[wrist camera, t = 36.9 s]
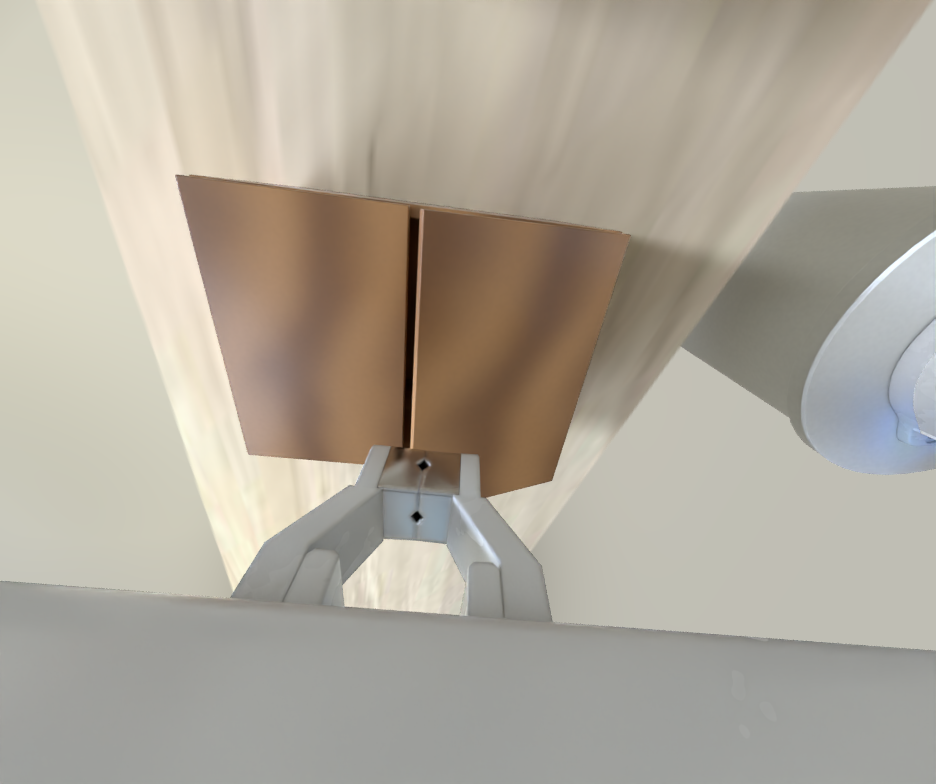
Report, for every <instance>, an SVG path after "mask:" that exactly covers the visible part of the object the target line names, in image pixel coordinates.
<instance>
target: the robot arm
mask: <svg viewBox="0 0 936 784" xmlns="http://www.w3.org/2000/svg"><path fill="white" fill-rule="evenodd" d="M888 397H889V402H890V405H891V407H892V409H893V410H894V412H895V413H896V415H897V417H898V420H899V421H898V426H897V439H898V440H899V441H901V442H904V443H906V444H908V445H911V446H931V445H936V319H934V320H933V321H932V322H931V323H930V324H929V325H928V326H927V327H926V328H925V329H924V330H923V331H922V332H921V333H920V334H919V335H918V336H917V337H916V338H915V339H914V341H913V342H912V343H911V344H910V345H909V347H908V348H907V349H906V351H905V352H904V354H903V355H902V357H901V358H900V360H899V361H898V363H897V365H896V367H895V369H894V371H893V374H892V376H891V379H890V383H889V390H888ZM383 539H400V540H416V541H425V542H434V543H443V544H447V547H448V549H449V551H450V553H451V555H452V557H453V559H454V561H455V563H456V565H457V567H458V569H459V571H460V573H461V575H462V577H463V579H464V581H465V583H466V584H465V589H464V594H463V599H462V604H461V610H460V615H450V614H436V613H423V612H409V611H396V610H383V609H369V608H356V607H345V606H344V597H343V588H342V585H343V584H344V583H345V582H346V580H347V579H348V578H349V577H350V576H351V575H352V574H353V573H354V572H355V571H356V570H357V569H358V567H359V566H360V565H361V564H362V563H363V562H364V561H365V560H366V559H367V558H368V557H369V556H370V554H371V553H372V552H373V551H374V550H375V549H376V548H377V547H378V546H379V545H380V544H381V543H382V541H383ZM0 784H936V651H933V650H920V649H906V648H893V647H880V646H866V645H851V644H839V643H838V644H837V643H825V642H812V641H798V640H784V639H772V638H758V637H744V636H732V635H718V634H705V633H691V632H678V631H665V630H652V629H638V628H625V627H612V626H598V625H585V624H571V623H557V622H553V621H552V616H551V611H550V607H549V601H548V595H547V590H546V585H545V580H544V575H543V570H542V566H541V564H540V563H539V562H538V561H537V559H536V558H535V557H534V556H533V555H532V553H531V552H530V551H529V550H528V548H527V547H526V546H525V545H524V544H523V542H522V541H521V540H520V539H519V538H518V536H517V535H516V534H515V533H514V531H513V530H512V529H511V528H510V527H509V525H508V524H507V523H506V522H505V520H504V519H503V518H502V517H501V516H500V514H499V513H498V512H497V511H496V509H495V508H494V507H493V506H492V505H491V503H490V502H489V501H488V500H487V498H483V497H481V493H480V462H479V455H478V454H464V453H461V454H459V453H448V452H437V451H427V450H419V449H411V448H402V447H394V446H392V447H391V446H383V445H375V444H374V445H373V446H372V447H371V449H370V451H369V454H368V456H367V458H366V461H365V463H364V465H363V468H362V470H361V473H360V475H359V477H358V480H357V482H356V484H355V486H352V485H349V486H348V487H346V488H345V489H343V490H342V491H340V492H339V493H337V494H336V495H334V496H333V497H331V498H330V499H328V500H327V501H325V502H324V503H322V504H321V505H319V506H318V507H316V508H315V509H313V510H312V511H310V512H309V513H307V514H306V515H304V516H303V517H301V518H300V519H298V520H297V521H295V522H294V523H293V524H291V525H290V526H288V527H287V528H285V529H284V530H282V531H281V532H279V533H278V534H276V535H275V536H273V537H272V538H270V539H269V540H267V541H266V542H265V543H264V544H263V546H262V547H261V549H260V551H259V552H258V554H257V555H256V557H255V559H254V560H253V562H252V563H251V565H250V567H249V568H248V570H247V571H246V573H245V575H244V576H243V578H242V579H241V581H240V583H239V584H238V586H237V587H236V589H235V591H234V592H233V594H232V596H231V597H230V598H223V597H209V596H196V595H183V594H168V593H156V592H143V591H129V590H115V589H103V588H88V587H76V586H63V585H49V584H35V583H23V582H10V581H0Z"/></svg>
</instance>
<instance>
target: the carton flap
mask: <svg viewBox="0 0 936 784" xmlns="http://www.w3.org/2000/svg"><path fill="white" fill-rule="evenodd" d="M630 237H631V235H629V234H622V233H614V232H606V231H598V230H590V229H581V228H573V227H565V226H557V225H549V224H541V223H532V222H524V221H516V220H508V219H500V218H492V217H483V216H475V215H467V214H459V213H451V212H443V211H435V210H426V209H420V220H419V245H418V270H417V294H416V319H415V344H414V368H413V393H412V418H411V442H410V448H411V449H419V450H427V451H437V452H448V453H459V454H461V453H464V454H478V455H479V462H480V493H481V497H483V498H487V497H491V496H495V495H498V494H502V493H506V492H510V491H514V490H518V489H522V488H526V487H530V486H534V485H537V484H541V483H545V482H549V481H552V479H553V476H554V473H555V470H556V467H557V464H558V460H559V457H560V454H561V451H562V448H563V445H564V442H565V439H566V436H567V433H568V429H569V426H570V423H571V420H572V417H573V414H574V411H575V408H576V405H577V401H578V398H579V395H580V392H581V389H582V386H583V383H584V380H585V377H586V373H587V370H588V367H589V364H590V361H591V358H592V355H593V352H594V349H595V346H596V342H597V339H598V336H599V333H600V330H601V327H602V324H603V321H604V318H605V314H606V311H607V308H608V305H609V302H610V299H611V296H612V293H613V290H614V287H615V283H616V280H617V277H618V274H619V271H620V268H621V265H622V262H623V259H624V255H625V252H626V249H627V246H628V243H629V240H630Z"/></svg>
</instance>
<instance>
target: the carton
mask: <svg viewBox="0 0 936 784" xmlns="http://www.w3.org/2000/svg"><path fill="white" fill-rule="evenodd" d="M175 177H176V181H177V185H178V189H179V192H180V196H181V200H182V204H183V208H184V212H185V215H186V219H187V223H188V227H189V231H190V234H191V238H192V242H193V246H194V250H195V253H196V257H197V261H198V265H199V269H200V273H201V276H202V280H203V284H204V288H205V292H206V295H207V299H208V303H209V307H210V311H211V315H212V318H213V322H214V326H215V330H216V334H217V337H218V341H219V345H220V349H221V353H222V356H223V360H224V364H225V368H226V372H227V376H228V379H229V383H230V387H231V391H232V395H233V398H234V402H235V406H236V410H237V414H238V418H239V421H240V425H241V429H242V433H243V437H244V440H245V444H246V448H247V452H248V454H249V455H259V456H271V457H283V458H294V459H306V460H318V461H329V462H341V463H353V464H364V463H365V461H366V458H367V456H368V454H369V451H370V449H371V447H372V446H373V445H374V444H375V445H383V446H391V447H392V446H394V447H402V448H410V442H411V418H412V393H413V368H414V344H415V319H416V294H417V270H418V245H419V220H420V209H426V210H435V211H443V212H451V213H459V214H467V215H475V216H483V217H492V218H500V219H508V220H516V221H524V222H532V223H541V224H549V225H557V226H565V227H573V228H581V229H590V230H598V231H606V232H614V233H622V232H620V231H614V230H608V229H602V228H596V227H590V226H584V225H578V224H572V223H565V222H559V221H551V220H543V219H536V218H528V217H521V216H513V215H506V214H498V213H491V212H483V211H476V210H468V209H461V208H453V207H446V206H438V205H431V204H423V203H416V202H408V201H400V200H393V199H385V198H378V197H370V196H363V195H355V194H348V193H340V192H333V191H325V190H318V189H310V188H303V187H294V186H286V185H277V184H268V183H259V182H251V181H242V180H233V179H224V178H216V177H207V176H198V175H189V176H184V175H175Z"/></svg>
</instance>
